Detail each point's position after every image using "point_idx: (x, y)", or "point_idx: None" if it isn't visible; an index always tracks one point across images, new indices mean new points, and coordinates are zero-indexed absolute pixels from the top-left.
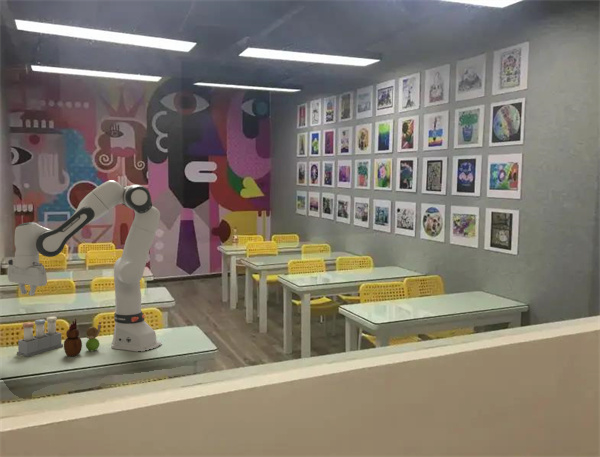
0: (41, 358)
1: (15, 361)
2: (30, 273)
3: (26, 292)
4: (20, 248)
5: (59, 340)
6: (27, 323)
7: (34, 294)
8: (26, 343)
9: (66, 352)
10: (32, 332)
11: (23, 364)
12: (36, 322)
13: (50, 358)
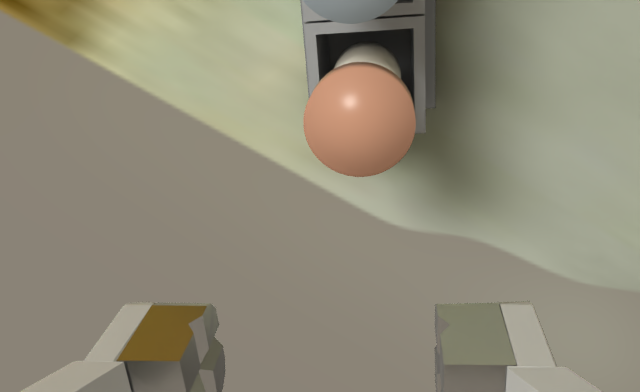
0: (546, 65)
1: (443, 194)
2: None
3: (205, 319)
4: None
5: None
6: (361, 134)
7: (531, 309)
8: (421, 129)
9: None
10: (392, 71)
11: (543, 201)
12: (364, 19)
13: (610, 26)
